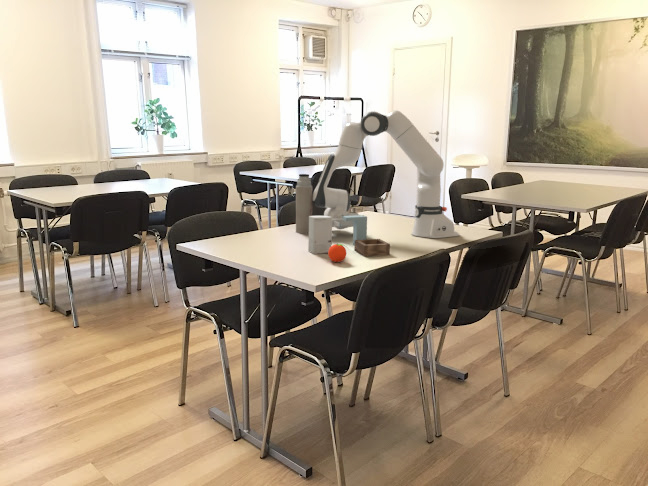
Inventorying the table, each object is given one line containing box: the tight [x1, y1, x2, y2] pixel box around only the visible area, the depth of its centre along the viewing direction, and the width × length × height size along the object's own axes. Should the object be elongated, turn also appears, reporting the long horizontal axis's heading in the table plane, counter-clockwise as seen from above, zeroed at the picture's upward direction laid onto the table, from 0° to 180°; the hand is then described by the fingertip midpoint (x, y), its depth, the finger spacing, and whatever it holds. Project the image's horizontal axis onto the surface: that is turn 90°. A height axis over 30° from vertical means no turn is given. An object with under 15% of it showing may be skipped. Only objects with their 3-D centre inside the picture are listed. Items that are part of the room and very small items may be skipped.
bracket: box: [343, 214, 368, 247], centre depth 231 cm, size 10×4×13 cm, turn 107°
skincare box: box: [307, 215, 333, 255], centre depth 219 cm, size 8×6×15 cm
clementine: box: [327, 243, 349, 263], centre depth 203 cm, size 8×7×7 cm
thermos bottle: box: [295, 173, 313, 234], centre depth 260 cm, size 8×8×28 cm
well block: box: [354, 238, 391, 258], centre depth 219 cm, size 11×11×4 cm
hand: (350, 224), depth 242 cm, fingers open, 8 cm apart
